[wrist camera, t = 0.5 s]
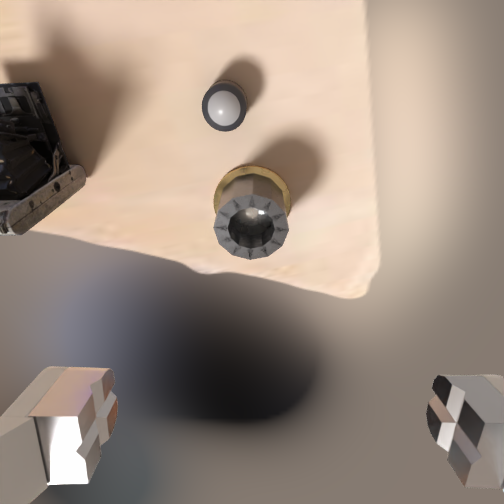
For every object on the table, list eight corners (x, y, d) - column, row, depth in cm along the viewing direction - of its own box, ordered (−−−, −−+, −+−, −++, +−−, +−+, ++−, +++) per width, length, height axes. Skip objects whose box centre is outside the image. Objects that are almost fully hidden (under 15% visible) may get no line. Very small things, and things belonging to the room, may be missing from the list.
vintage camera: (59, 79, 47) (-57, 97, 30) (91, 183, 55) (14, 244, 38) (-7, 82, 48) (-157, 101, 31) (35, 185, 56) (-66, 245, 39)
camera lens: (225, 70, 46) (223, 73, 42) (255, 104, 48) (255, 109, 45) (197, 102, 48) (192, 107, 45) (226, 133, 50) (224, 140, 47)
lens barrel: (253, 148, 52) (253, 168, 44) (305, 204, 57) (313, 231, 49) (198, 200, 57) (189, 226, 49) (250, 247, 62) (249, 277, 54)
